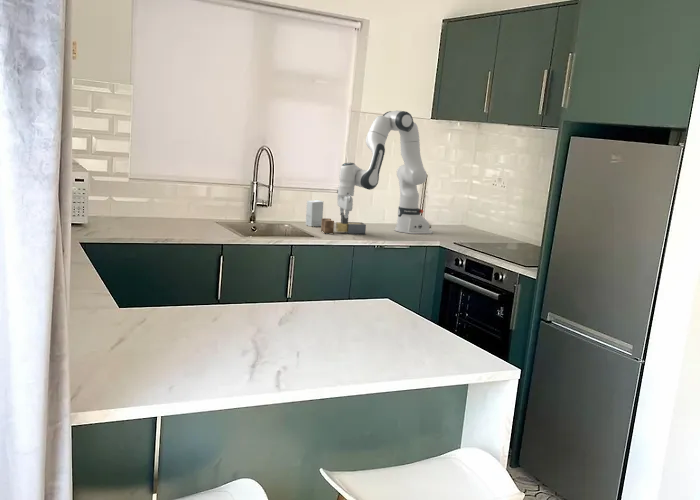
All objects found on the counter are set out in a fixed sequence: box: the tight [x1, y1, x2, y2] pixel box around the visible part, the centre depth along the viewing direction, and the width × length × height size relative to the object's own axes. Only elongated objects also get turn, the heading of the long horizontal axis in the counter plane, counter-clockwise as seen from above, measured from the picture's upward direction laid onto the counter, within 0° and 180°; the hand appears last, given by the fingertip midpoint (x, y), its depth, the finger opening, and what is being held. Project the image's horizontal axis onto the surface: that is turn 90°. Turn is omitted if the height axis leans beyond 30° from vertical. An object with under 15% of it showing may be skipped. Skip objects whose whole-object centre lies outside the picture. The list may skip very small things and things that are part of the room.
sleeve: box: [345, 221, 367, 236], centre depth 398 cm, size 10×8×6 cm
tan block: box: [335, 214, 361, 233], centre depth 397 cm, size 14×4×9 cm, turn 105°
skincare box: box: [305, 199, 324, 227], centre depth 413 cm, size 8×6×15 cm
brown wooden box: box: [320, 217, 335, 234], centre depth 394 cm, size 5×9×7 cm, turn 15°
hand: (343, 216), depth 395 cm, fingers open, 8 cm apart
